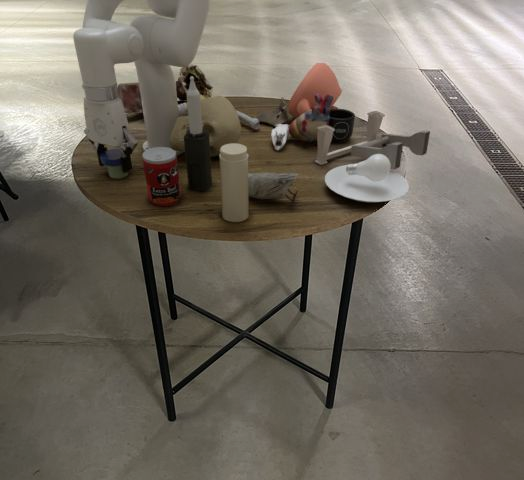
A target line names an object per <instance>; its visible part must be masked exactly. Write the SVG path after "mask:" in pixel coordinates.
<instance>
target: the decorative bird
mask: <svg viewBox="0 0 524 480" xmlns="http://www.w3.org/2000/svg"><path fill="white" fill-rule="evenodd" d="M298 176H300V173H296V172H295V173H294V172H293V173H290V172H288V173H287V172H286V173H276V172H275V173H274V172H256V173H255V172H254V173H250V172H249V196H250V197H252V198H255V199H257V200H273V199H279V198H283V196H284V197H286V198H287V199H288V200H289V201H291V202H290V205H293V203H294V202H295V199H296V197H297V193H298V190H297V191H295V193H293V192H292V191H291V189H290V187H291V185H292V184H293V180H297V179H298ZM287 192H288V193H289V194H291V195H293V197H292V198H290V197H289V195H288V194H287Z"/></svg>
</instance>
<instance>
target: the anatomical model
mask: <svg viewBox="0 0 524 480" xmlns="http://www.w3.org/2000/svg"><path fill="white" fill-rule="evenodd" d="M332 100H333V96H332V95H331V94H327V95H326V96H325V97H324V98H322V96H321V95H320V94H315V104H314V105H313V108H312V110H310V111H308V112H306V113H303V114H302V115H300V116H299V117H298V118H295V119H293V121H291V123H290V124H289V126H288V128H289V135H290V136H291V137H292V138H294V139H296V140H298V141H302V142H307V143H311V142H315V141H316V142H317V141H318V139H317V136H318V130H317V127H319V126H322V125H328V124H329V119H330V117H329V113H330V106H331V103H332Z"/></svg>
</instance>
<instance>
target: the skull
mask: <svg viewBox="0 0 524 480" xmlns="http://www.w3.org/2000/svg"><path fill="white" fill-rule="evenodd" d="M200 104H201V118H202V129H204V130H206V132H208V133H209V142H210V158H212V157H217V156H218V157H219V155H220V153H221V152H220V149H221V147H222V146H223V145H226V144H231V143H236V144H239V141H240V138H241V133H242V126H241V120H239V117H238V114H237V112H236V109H235V107H234V105H233V104H232V103H231V101H230V99H228V98H226V97H225V96H223V95H214V96H213V95H212V96H211V97H209V98H206V99H202V100H200ZM186 112H188V108H187V109H186ZM187 125H188V126H187ZM186 126H187V127H186ZM189 129H190V127H189V116H188V115H186V116H181V117H180V116H179V117H178V118H177V119H176V122H175V125H174V127H173V129H172V132H171V135H170V146H171V149H173V150H175V151H184V150H185V145H184V135H185V134H186V131H187V130H189Z"/></svg>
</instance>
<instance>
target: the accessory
mask: <svg viewBox="0 0 524 480" xmlns="http://www.w3.org/2000/svg"><path fill="white" fill-rule="evenodd" d="M292 138H293V137H292V136H291V137H288V138H287V141H290V140H291V139H292ZM316 144H318V141H316V142H314V143H311V144H307V145H305V147H309V146H314V145H316Z"/></svg>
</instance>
